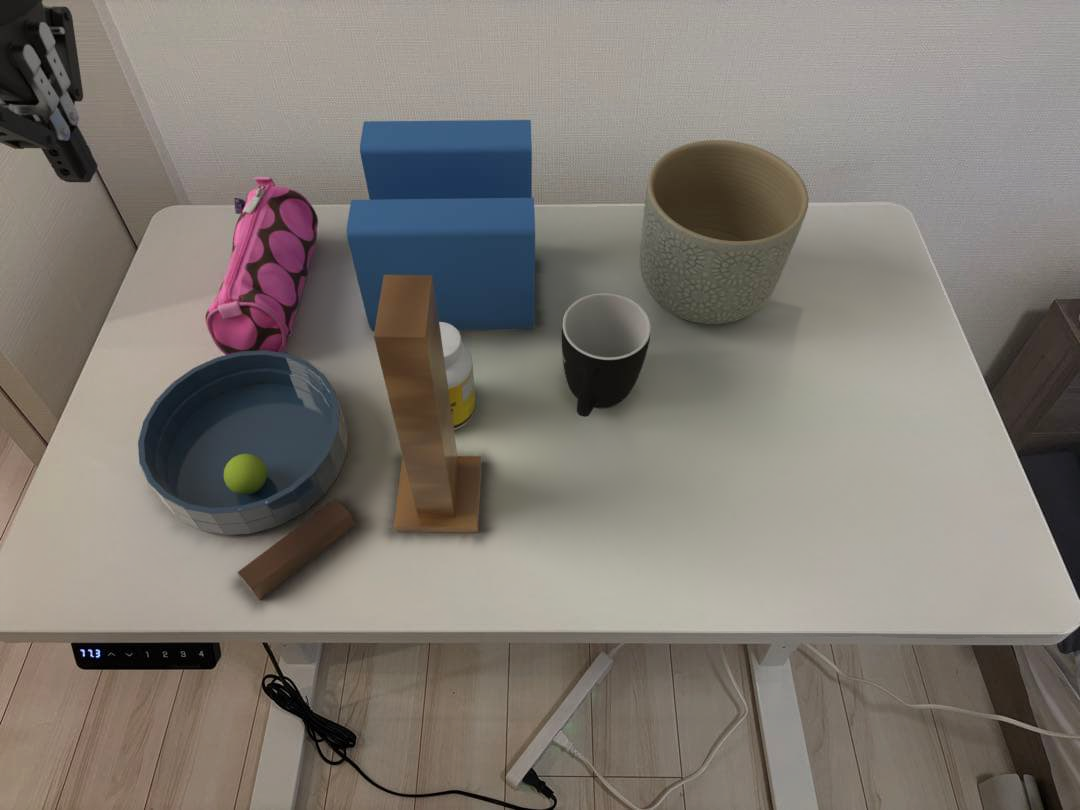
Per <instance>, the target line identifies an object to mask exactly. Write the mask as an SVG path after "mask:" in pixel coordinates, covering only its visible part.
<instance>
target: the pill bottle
mask: <svg viewBox="0 0 1080 810" xmlns="http://www.w3.org/2000/svg"><path fill="white" fill-rule="evenodd" d="M439 325H440V332H441V339H442V346H443V354H444V361H445V368H446V375H447V383H448V390H449V397H450V404H451V412H452V419H453V426H454V431H455V430H457V429H460V428H462V427H464V426H465V425H467V423H469V422H470V420H471V419H472V418H473V415H474V414H475V411H476V405H477V404H476V393H475V392H476V390H475V379H474V378H475V376H474V364H473V357H472V353H471V351H470V350H469V347H467V345H465V344H464V343H463V340H462V336H461V333H460V330H457V329H456V328H455V327H454V326H452V325H451V324H448V323H445V322H439Z"/></svg>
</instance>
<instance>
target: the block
mask: <svg viewBox="0 0 1080 810" xmlns="http://www.w3.org/2000/svg"><path fill="white" fill-rule="evenodd" d="M362 124H363V125H362V128H361V129H362V130H361V137H360V141H359V153H360V159H361V165H362V169H363V174H364V178H365V183H366V184H365V185H366V188H367V193H368V199H351V200H350V204H349V212H348V216H347V223H346V239H347V243H348V246H349V252H350V255H351V259H352V263H353V267H354V270H355V275H356V279H357V283H358V288H359V291H360V295H361V296H360V297H361V300H362V303H363V308H364V312H365V316H366V320H367V324H368V326H369V328H370V331H371V332H375V326H376V320H377V314H378V308H379V302H380V296H381V290H382V284H383V278H384V275H432V276H433V281H434V289H435V296H436V303H437V310H438V318H439V322H445V323H448V324H451V325H452V326H454V327H455V328H456V329H457V330H458V331H500V330H503V331H504V330H505V331H507V330H510V331H511V330H512V331H513V330H535V318H536V317H535V315H536V314H535V308H536V302H535V301H536V300H535V299H536V216H535V197H533V196H532V195H533V194H532V193H533V192H532V191H533V189H532V188H533V187H532V186H533V185H532V184H533V143H532V120H531V119H494V120H493V119H482V120H481V119H478V120H477V119H476V120H475V119H473V120H467V119H466V120H365V121H363V123H362Z"/></svg>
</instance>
